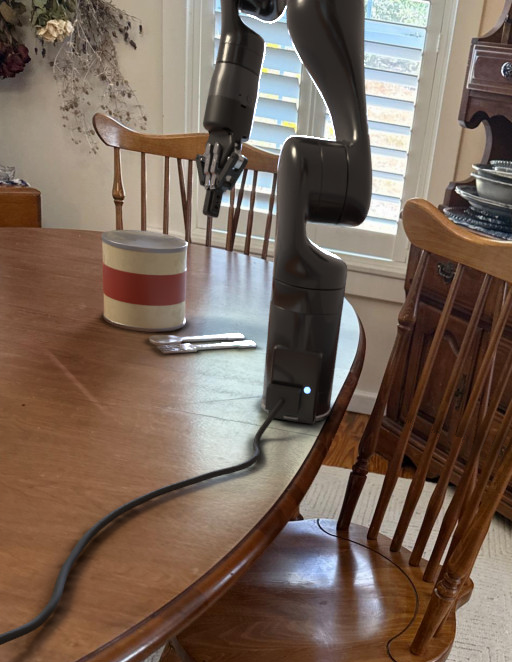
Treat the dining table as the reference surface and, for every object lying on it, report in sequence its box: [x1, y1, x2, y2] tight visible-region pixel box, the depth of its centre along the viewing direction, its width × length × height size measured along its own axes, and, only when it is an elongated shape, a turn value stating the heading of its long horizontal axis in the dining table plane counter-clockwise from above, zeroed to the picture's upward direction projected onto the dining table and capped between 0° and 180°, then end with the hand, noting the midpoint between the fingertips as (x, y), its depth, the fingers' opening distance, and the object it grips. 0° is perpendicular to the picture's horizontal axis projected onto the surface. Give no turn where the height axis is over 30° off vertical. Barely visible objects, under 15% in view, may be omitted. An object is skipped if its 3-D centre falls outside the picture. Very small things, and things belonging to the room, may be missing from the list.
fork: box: [156, 340, 257, 355], centre depth 121 cm, size 16×3×1 cm, turn 126°
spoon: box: [148, 332, 246, 346], centre depth 124 cm, size 16×4×1 cm, turn 126°
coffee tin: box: [101, 229, 189, 333], centre depth 126 cm, size 13×13×13 cm
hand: (210, 216), depth 125 cm, fingers closed
